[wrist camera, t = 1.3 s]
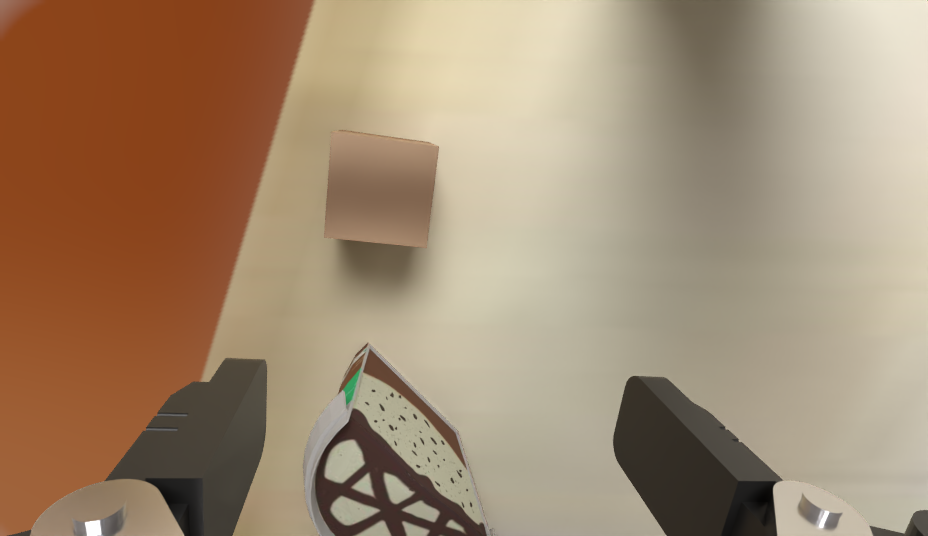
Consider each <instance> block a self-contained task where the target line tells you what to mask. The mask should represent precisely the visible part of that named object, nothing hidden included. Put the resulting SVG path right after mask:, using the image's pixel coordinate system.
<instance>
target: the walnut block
mask: <svg viewBox="0 0 928 536" xmlns="http://www.w3.org/2000/svg"><path fill="white" fill-rule="evenodd" d="M438 151H439V147H438V146H436V145H434V144H431V143H429V142H423V141H416V140H409V139H402V138H395V137H388V136H381V135H374V134H367V133H360V132H353V131H346V130H339V131H333V132H331V146H330V160H329V175H328V189H327V203H326V217H325V232H324V238H334V239H344V240H354V241H364V242H373V243H383V244H393V245H403V246H412V247H422V248H426V247H427V239H428V231H429V223H430V215H431V207H432V199H433V191H434V183H435V175H436V167H437V159H438Z"/></svg>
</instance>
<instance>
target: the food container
mask: <svg viewBox="0 0 928 536" xmlns="http://www.w3.org/2000/svg"><path fill="white" fill-rule="evenodd" d="M303 473H304V486H305V497H306V503H307V507H308V511H309V514H310V517H311V519H312V521H313V523H314V525H315V527H316V529H317V531H318V533H319V535H320V536H495V532H494V529H493V528H492V529H491V530H489V528H488V525H487V521H486V518H485V515H484V512H483V509H482V506H481V502H480V499H479V496H478V493H477V490H476V486H475V483H474V480H473V477H472V474H471V471H470V467H469V464H468V461H467V458H466V455H465V452H464V448H463V445H462V442H461V439H460V436H459V433H458V431H457V430H456V429H455V428H454V427H453V426H452V425H451V424H450V423H449V422H448V421H447V420H446V419H445V418H444V417H443V416H442V415H441V414H440V413H439V412H438V411H437V410H436V409H435V408H434V407H433V406H432V405H431V404H430V403H429V402H428V401H427V400H426V399H425V398H424V397H423V396H422V395H421V394H420V393H419V392H418V391H417V390H416V389H415V388H414V387H413V386H412V385H411V384H410V383H409V382H408V381H407V380H406V379H405V378H404V377H403V376H402V375H401V374H400V373H399V372H398V371H397V370H396V369H395V368H394V367H393V366H392V365H391V364H390V363H389V362H388V361H387V360H386V359H385V358H384V357H383V356H382V355H381V354H380V353H378V352H377V351H376V350H375V349H374V348H373V347H372V346H371V345H370V344H369V343H367V344H366V345H365V346H364V347H363V348H362V349H361V350H360V351H359V352H358V353H357V354H356V355H355V357H354V359H353V361H352V363H351V364H350V366H349V368H348V370H347V371H346V373H345V376H344V379H343V381H342V384H341V387H340V390H339V393H338V395H337V396H336V397H335V398H334V399H333V400H332V401H331V402H330V403H329V404H328V406H327V407H326V408H325V410H324V411H323V412H322V414H321V415H320V416H319V418H318V419H317V421H316V423H315V425H314V427H313V429H312V431H311V433H310V436H309V439H308V442H307V445H306V448H305V454H304V463H303Z"/></svg>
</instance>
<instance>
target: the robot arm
mask: <svg viewBox="0 0 928 536" xmlns="http://www.w3.org/2000/svg"><path fill="white" fill-rule="evenodd" d="M266 397H267V365H266V361H265V360H260V359H236V358H226V359H225V360H224V361H223V362H222V364H221V365H220V367H219V368H218V370H217V371H216V373H215V374H214V376H213V377H212V379H211V380H210V382H192V383H190V384H189V385H187V386H185V387H184V388H182V389H181V390H179V391H177V392H176V393H174V394H173V395H171V396H170V397H169V399H168V400H167V401H166V402H165V404H164V405H163V406H162V408H161V409H160V410H159V412H158V414H157V416H155V417H154V418H153V419H152V420H151V422H150V423H149V425H148V426H147V427H146V431H143V432H142V433H141V435H140V436H139V437H138V439H137V440H136V441H135V443H134V444H133V445H132V446H131V448H130V449H129V450H128V452H127V453H126V454H125V455H124V457H123V458H122V459H121V461H120V462H119V463H118V464H117V466H116V467H115V468H114V470H113V471H112V472H111V474H110V475H109V476H108V478H107V479H106V480H105V481H104V482H100V483H96V484H93V485H90V486H87V487H85V488H82V489H79V490H77V491H75V492H73V493H71V494H69V495H67V496H65V497H64V498H62V499H60V500H59V501H57V502H56V503H55V504H53V505H52V506H50V507H49V508H48V509H47V510H46V511H45V512H44V513H43V514H42V515H41V516H40V517H39V518H38V520H37V521H36V522H35V524H34V526H33V528H32V530H29V531H25V532H21V533H18V534H14V535H9V536H232V535H233V532H234V530H235V527H236V524H237V522H238V519H239V516H240V513H241V511H242V508H243V505H244V503H245V500H246V497H247V494H248V492H249V489H250V486H251V484H252V481H253V478H254V475H255V473H256V470H257V467H258V465H259V462H260V459H261V456H262V452H263V447H264V441H265V433H266ZM613 445H614V452H615V456H616V459H617V461H618V463H619V465H620V466H621V468H622V469H623V471H624V472H625V474H626V475H627V477H628V478H629V480H630V481H631V483H632V484H633V486H634V487H635V489H636V490H637V492H638V493H639V495H640V496H641V498H642V499H643V501H644V502H645V504H646V505H647V507H648V508H649V510H650V511H651V513H652V514H653V516H654V517H655V519H656V520H657V522H658V523H659V525H660V526H661V528H662V529H663V531H664V532H665V534H666V535H667V536H928V510H920V511H917V512H915V513H914V514H913V516H912V518H911V520H910V523H909V525H908V527H907V529H906V531H905V534H903V533H899V532H894V531H890V530H886V529H881V528H877V527H873V526H869V524H868V522H867V521H866V520H865V518H864V517H863V516H862V515H861V514H860V513H859V512H858V511H857V510H856V509H855V508H853V507H852V506H851V505H850V504H848V503H847V502H845V501H844V500H842V499H841V498H839V497H837V496H836V495H834V494H832V493H830V492H828V491H826V490H824V489H822V488H819V487H817V486H814V485H811V484H808V483H804V482H800V481H793V480H785V481H783V480H782V479H781V478H780V477H779V476H778V475H777V474H776V473H775V472H774V471H773V470H771V469H770V468H769V467H768V466H767V465H766V464H765V463H764V462H763V461H762V460H761V459H759V458H758V457H757V456H756V455H755V454H754V453H753V452H752V451H751V450H750V449H749V448H748V447H746V446H745V445H744V444H743V443H742V442H739V441H738V438H737V437H736V436H734V435H733V434H732V433H731V432H730V431H729V430H725V426H724V425H723V424H721V423H720V422H719V421H718V420H717V419H716V418H715V417H714V416H713V415H712V414H711V413H709V412H708V411H706V410H705V409H703V408H701V407H700V406H698V405H696V404H694V403H693V402H691V401H690V400H689V399H688V398H687V397H686V396H685V395H684V394H683V393H682V392H681V391H680V390H679V389H678V388H677V387H675V386H674V385H673V384H672V383H671V382H670V381H669V380H668V379H667V378H664V377H646V376H632V377H630V378H629V380H628V381H627V383H626V386H625V390H624V394H623V398H622V402H621V407H620V411H619V415H618V419H617V423H616V427H615V432H614V438H613Z"/></svg>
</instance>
